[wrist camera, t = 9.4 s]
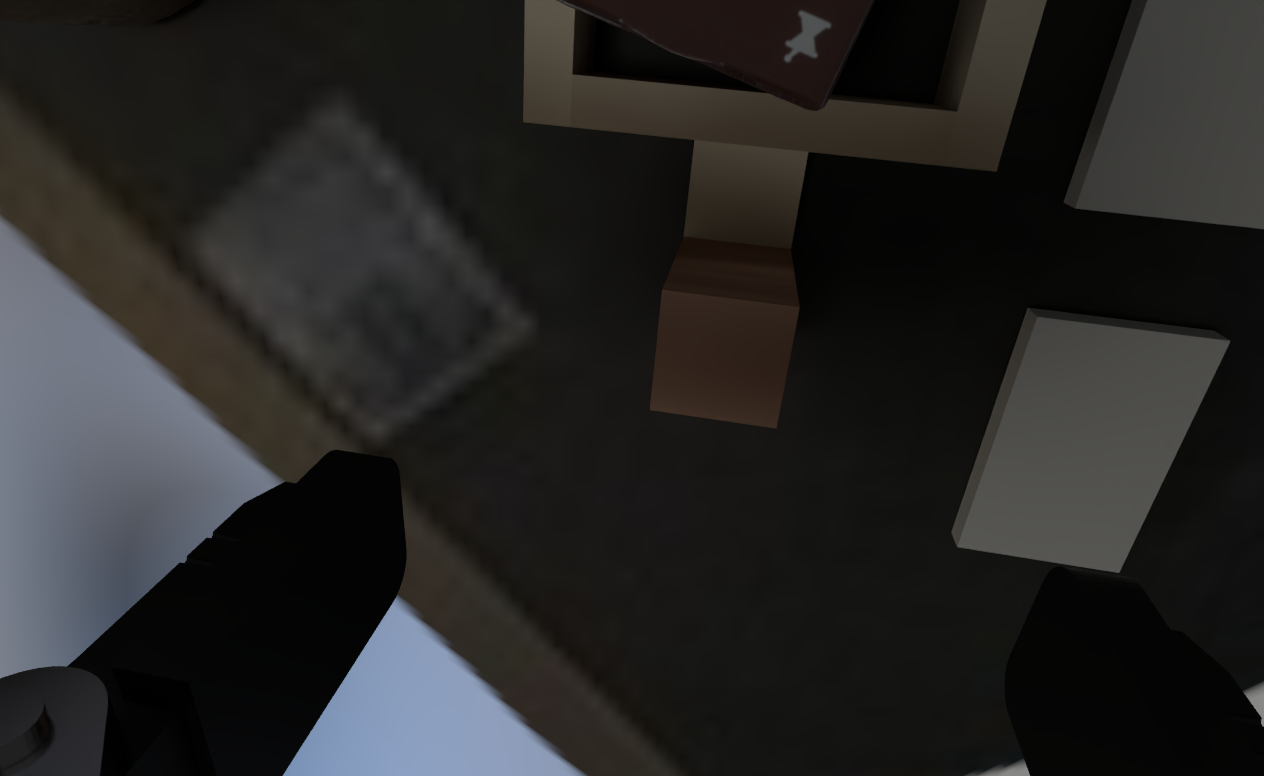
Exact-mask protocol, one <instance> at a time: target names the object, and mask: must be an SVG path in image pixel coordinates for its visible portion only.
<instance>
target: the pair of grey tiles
mask: <svg viewBox="0 0 1264 776" xmlns="http://www.w3.org/2000/svg"><path fill="white" fill-rule="evenodd" d="M1063 203H1065V204H1067V205H1069V206H1071V207H1073V208H1075V209H1084V210H1094V211H1103V212H1112V213H1121V214H1130V215H1140V216H1149V217H1158V218H1167V219H1176V220H1186V221H1195V222H1204V223H1213V224H1222V225H1232V226H1241V227H1250V228H1259V229H1264V0H1132V2H1131V5H1130V8H1129V11H1128V14H1127V17H1126V20H1125V23H1124V26H1123V29H1122V32H1121V35H1120V38H1119V40H1118V43H1117V46H1116V49H1115V52H1114V55H1113V58H1112V61H1111V64H1110V67H1109V70H1108V73H1107V76H1106V79H1105V82H1104V85H1103V88H1102V90H1101V93H1100V96H1099V99H1098V102H1097V105H1096V108H1095V111H1094V114H1093V117H1092V120H1091V123H1090V126H1089V129H1088V132H1087V135H1086V138H1085V140H1084V143H1083V146H1082V149H1081V152H1080V155H1079V158H1078V161H1077V164H1076V167H1075V170H1074V173H1073V176H1072V179H1071V182H1070V185H1069V188H1068V190H1067V193H1066V196H1065V199H1064V202H1063ZM1229 343H1230V340H1228V339H1226V338H1225V337H1223V336H1222V335H1220V334H1218V333H1217V332H1215V331H1213V330H1204V329H1196V328H1188V327H1180V326H1172V325H1164V324H1156V323H1148V322H1140V321H1132V320H1124V319H1116V318H1107V317H1099V316H1091V315H1083V314H1075V313H1067V312H1059V311H1051V310H1043V309H1035V308H1027V311H1026V314H1025V317H1024V320H1023V323H1022V326H1021V329H1020V332H1019V335H1018V338H1017V340H1016V343H1015V346H1014V349H1013V352H1012V355H1011V358H1010V361H1009V364H1008V367H1007V370H1006V373H1005V376H1004V379H1003V382H1002V385H1001V388H1000V390H999V393H998V396H997V399H996V402H995V405H994V408H993V411H992V414H991V417H990V420H989V423H988V426H987V429H986V432H985V435H984V438H983V440H982V443H981V446H980V449H979V452H978V455H977V458H976V461H975V464H974V467H973V470H972V473H971V476H970V479H969V482H968V485H967V488H966V490H965V493H964V496H963V499H962V502H961V505H960V508H959V511H958V514H957V517H956V520H955V523H954V526H953V529H952V532H951V533H952V535H953V538H954V540H955V543H956V545H957V547H961V548H967V549H973V550H980V551H986V552H992V553H998V554H1005V555H1011V556H1017V557H1024V558H1030V559H1036V560H1042V561H1049V562H1055V563H1061V564H1067V565H1074V566H1080V567H1086V568H1092V569H1099V570H1105V571H1111V572H1117V573H1119V572H1120V570H1121V568H1122V566H1123V563H1124V561H1125V559H1126V557H1127V555H1128V553H1129V551H1130V549H1131V547H1132V545H1133V543H1134V541H1135V539H1136V536H1137V534H1138V532H1139V530H1140V528H1141V526H1142V524H1143V522H1144V520H1145V518H1146V516H1147V514H1148V512H1149V509H1150V507H1151V505H1152V503H1153V501H1154V499H1155V497H1156V495H1157V493H1158V491H1159V489H1160V487H1161V484H1162V482H1163V480H1164V478H1165V476H1166V474H1167V472H1168V470H1169V468H1170V466H1171V464H1172V462H1173V460H1174V457H1175V455H1176V453H1177V451H1178V449H1179V447H1180V445H1181V443H1182V441H1183V439H1184V437H1185V435H1186V433H1187V430H1188V428H1189V426H1190V424H1191V422H1192V420H1193V418H1194V416H1195V414H1196V412H1197V410H1198V408H1199V405H1200V403H1201V401H1202V399H1203V397H1204V395H1205V393H1206V391H1207V389H1208V387H1209V385H1210V383H1211V381H1212V378H1213V376H1214V374H1215V372H1216V370H1217V368H1218V366H1219V364H1220V362H1221V360H1222V358H1223V356H1224V354H1225V351H1226V349H1227V347H1228V345H1229Z"/></svg>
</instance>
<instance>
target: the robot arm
mask: <svg viewBox="0 0 1264 776" xmlns="http://www.w3.org/2000/svg"><path fill="white" fill-rule="evenodd" d="M406 555H407V554H406V540H405V529H404V518H403V506H402V495H401V484H400V474H399V469H398V466H397V464H396V462H395V461H394V460H393V459H391V458H386V457H379V456H373V455H367V454H360V453H354V452H348V451H341V450H332V451H330V452H328V453H327V454H326V455H325V456H324V457H323V458H322V459H321V460H320V461H319V462H318V463H316V464H315V465H314V466H313V467H312V468H311V469H310V470H309V471H308V472H307V473H306V474H305V475H304V476H303V477H302V478H301V479H300V480H299V481H298V482H297V483H290V482H284V483H282V484H280V485H278V486H276V487H274V488H272V489H270V490H268V491H267V492H265V493H263V494H261V495H259V496H257V497H255V498H253V499H251V500H249V501H247V502H245V503H244V504H243V505H242V506H241V507H239V508H238V509H237V510H236V511H235V512H234V513H233V514H232V515H231V516H230V517H229V518H228V519H227V520H225V521H224V522H223V523H222V524H221V525H220V526H219V527H218V528H217V529H216V530H215V531H214V532H213V536H212V538H206V539H205V540H204V541H203V542H202V543H201V544H199V545H198V546H197V547H196V548H195V549H194V550H193V551H192V552H191V553H190V554H189V555H188V556H187V560H186V562H185V563H179V564H178V565H177V566H176V567H175V568H174V569H172V570H171V571H170V572H169V573H168V574H167V575H166V576H165V577H164V578H163V579H162V580H161V581H160V582H158V583H157V584H156V585H155V586H154V587H153V588H152V589H151V590H150V591H149V592H148V593H147V594H145V595H144V596H143V597H142V598H141V599H140V600H139V601H138V602H137V603H136V604H135V605H134V606H133V607H131V608H130V609H129V610H128V611H127V612H126V613H125V614H124V615H123V616H122V617H121V618H120V619H119V620H117V622H115V623H114V624H113V625H112V626H111V627H110V628H109V629H108V630H107V631H106V632H104V633H103V634H102V635H101V636H100V637H99V638H98V639H97V640H96V641H95V642H94V643H93V644H92V645H91V646H89V647H88V648H87V649H86V650H85V651H84V652H83V653H82V654H81V655H80V656H79V657H78V658H76V659H75V660H74V661H73V662H72V663H71V664H69V665H68V666H67V667H61V666H57V667H55V666H53V667H44V668H37V669H32V670H27V671H23V672H19V673H16V674H13V675H10V676H6V677H3V678H1V679H0V776H283V774H284V773H285V771H286V769H287V768H288V766H289V765H290V763H291V762H292V760H293V758H294V757H295V755H296V754H297V752H298V751H299V749H300V747H301V746H302V744H303V743H304V741H305V740H306V738H307V736H308V735H309V733H310V731H311V730H312V729H313V727H314V726H315V724H316V722H317V721H318V719H319V718H320V716H321V715H322V713H323V711H324V710H325V708H326V707H327V705H328V703H329V702H330V700H331V699H332V697H333V696H334V694H335V693H336V691H337V689H338V688H339V686H340V685H341V683H342V681H343V680H344V678H345V677H346V675H347V674H348V672H349V670H350V669H351V667H352V666H353V664H354V663H355V661H356V659H357V658H358V656H359V655H360V653H361V652H362V650H363V649H364V647H365V645H366V644H367V642H368V641H369V639H370V638H371V636H372V634H373V633H374V631H375V630H376V628H377V627H378V625H379V623H380V622H381V620H382V619H383V617H384V616H385V614H386V613H387V611H388V609H389V608H390V606H391V605H392V603H393V601H394V600H395V598H396V596H397V594H398V591H399V589H400V586H401V583H402V580H403V576H404V572H405V566H406ZM1005 700H1006V706H1007V711H1008V714H1009V717H1010V720H1011V723H1012V726H1013V729H1014V731H1015V734H1016V737H1017V740H1018V743H1019V745H1020V748H1021V751H1022V754H1023V757H1024V760H1025V762H1026V765H1027V768H1028V771H1029V774H1030V776H1264V727H1263V726H1262V724H1261V719H1262V718H1261V716H1260V715H1259V714H1258V712H1257V711H1256V709H1255V708H1254V707H1253V705H1252V704H1251V703H1250V701H1249V700H1248V698H1247V697H1246V695H1245V694H1244V693H1243V691H1242V690H1241V689H1240V687H1239V686H1238V684H1237V683H1236V682H1235V680H1234V679H1233V677H1232V676H1231V675H1230V673H1229V672H1228V671H1227V670H1225V669H1224V668H1223V667H1222V666H1221V665H1220V664H1218V663H1217V662H1216V661H1215V660H1214V659H1213V658H1212V657H1210V656H1209V655H1208V654H1207V653H1206V652H1205V651H1204V650H1202V649H1201V648H1200V647H1199V646H1198V645H1197V644H1195V643H1194V642H1193V641H1192V640H1191V639H1190V638H1189V637H1187V636H1186V635H1185V634H1184V633H1183V632H1180V631H1174V630H1170V629H1169V627H1168V626H1167V624H1166V623H1165V621H1164V620H1163V618H1162V617H1161V615H1160V614H1159V612H1158V611H1157V609H1156V608H1155V606H1154V605H1153V603H1152V602H1151V600H1150V599H1149V597H1148V596H1147V594H1146V593H1145V591H1144V590H1143V588H1142V587H1141V586H1140V585H1139V584H1138V583H1137V582H1136V581H1135V580H1133V579H1131V578H1129V577H1124V576H1118V575H1111V574H1105V573H1099V572H1092V571H1086V570H1080V569H1074V568H1067V567H1061V566H1059V567H1055V568H1053V569H1052V570H1051V571H1050V572H1049V573H1048V574H1047V575H1046V577H1045V579H1044V581H1043V583H1042V585H1041V587H1040V589H1039V592H1038V594H1037V596H1036V598H1035V601H1034V603H1033V605H1032V607H1031V610H1030V612H1029V614H1028V616H1027V619H1026V621H1025V623H1024V625H1023V628H1022V630H1021V632H1020V634H1019V637H1018V639H1017V641H1016V643H1015V646H1014V648H1013V650H1012V652H1011V655H1010V657H1009V660H1008V663H1007V667H1006V673H1005Z"/></svg>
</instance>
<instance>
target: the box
mask: <svg viewBox="0 0 1264 776" xmlns="http://www.w3.org/2000/svg"><path fill="white" fill-rule="evenodd" d="M556 1H559V2H561V3H563V4H565V5H566V6H568V7H571V8H573V9H576V10H578V11H581V12H584V13H586V14H589V15H591V16H593V17H596V18H598V19H600V20H601V21H604V22H606V23H608V24H611V25H614V26H616V27H618V28H620V29H622V30H625V31H627V32H630V33H632V34H634V35H637V36H639V37H641V38H644V39H646V40H648V41H650V42H652V43H654V44H656V45H659V46H660V47H662V48H664V49H666V50H668V51H670V52H672V53H674V54H678V55H681V56H684V57H686V58H689V59H691V60H693V61H695V62H698V63H701V64H704V65H706V66H708V67H710V68H713V69H715V70H717V71H719V72H721V73H723V74H726V75H728V76H730V77H733V78H735V79H738V80H740V81H742V82H744V83H746V84H748V85H751V86H753V87H755V88H757V89H760V90H762V91H765V92H767V93H769V94H771V95H773V96H775V97H777V98H780V99H782V100H785V101H787V102H790V103H792V104H795V105H797V106H799V107H802V108H804V109H806V110H811V111H819V110H821V109H822V108H824V107H825V105H826V103H827V102H828V100H829V98H830V96H831V94H832V92H833V90H834V87H835V85H836V83H837V81H838V79H839V77H840V75H841V72H842V70H843V68H844V66H845V64H846V62H847V60H848V57H849V55H850V52H851V50H852V48H853V46H854V44H855V42H856V40H857V38H858V36H859V34H860V32H861V30H862V28H863V26H864V23H865V21H866V19H867V17H868V15H869V13H870V11H871V9H872V7H873V4H874V2H875V0H556Z"/></svg>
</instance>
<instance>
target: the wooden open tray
mask: <svg viewBox="0 0 1264 776" xmlns="http://www.w3.org/2000/svg"><path fill="white" fill-rule="evenodd" d="M1046 1H1047V0H959V5H958V9H957V13H956V17H955V21H954V25H953V29H952V33H951V37H950V41H949V45H948V49H947V53H946V57H945V61H944V65H943V69H942V73H941V77H940V81H939V85H938V90H937V94H936V98H935V102H934V104H929V103H919V102H909V101H898V100H888V99H877V98H867V97H856V96H846V95H835V94H831V96H830V98H829V100H828V102H827V103H826V105H825V107H824V108H822V109H821V110H819V111H811V110H806V109H804V108H802V107H799V106H797V105H795V104H792V103H790V102H787V101H785V100H782V99H780V98H777V97H775V96H773V95H771V94H769V93H767V92H765V91H762V90H760V89H757V88H755V87H752V86H742V85H731V84H721V83H710V82H700V81H689V80H679V79H668V78H658V77H648V76H637V75H627V74H616V73H606V72H595V71H594V54H595V35H596V17H593V16H591V15H589V14H586V13H584V12H581V11H578V10H576V9H573V8H571V7H568V6H566V5H565V4H563V3H561V2H559V1H556V0H525V40H524V114H523V122H528V123H537V124H547V125H556V126H566V127H575V128H585V129H594V130H604V131H614V132H623V133H633V134H642V135H652V136H661V137H671V138H680V139H690V140H695V141H694V150H693V159H692V168H691V176H690V185H689V194H688V203H687V212H686V221H685V229H684V237H683V239H682V242H681V244H680V247H679V249H678V252H677V254H676V257H675V259H674V262H673V264H672V267H671V269H670V272H669V274H668V277H667V279H666V282H665V284H664V287H663V289H662V297H661V307H660V316H659V326H658V336H657V345H656V355H655V365H654V374H653V384H652V394H651V403H650V410H654V411H661V412H668V413H674V414H681V415H688V416H695V417H702V418H709V419H715V420H722V421H729V422H736V423H743V424H750V425H756V426H763V427H770V428H777V422H778V417H779V412H780V407H781V402H782V396H783V391H784V386H785V381H786V376H787V371H788V365H789V360H790V355H791V350H792V345H793V340H794V334H795V329H796V324H797V319H798V314H799V308H800V306H799V299H798V293H797V286H796V280H795V273H794V266H793V260H792V253H791V246H792V240H793V235H794V229H795V224H796V218H797V213H798V207H799V201H800V196H801V190H802V185H803V179H804V174H805V168H806V163H807V157H808V152H814V153H824V154H833V155H843V156H852V157H862V158H871V159H881V160H891V161H900V162H910V163H919V164H929V165H938V166H948V167H957V168H967V169H976V170H986V171H997V168H998V164H999V161H1000V157H1001V154H1002V151H1003V147H1004V144H1005V140H1006V137H1007V134H1008V130H1009V127H1010V123H1011V120H1012V117H1013V113H1014V110H1015V106H1016V103H1017V100H1018V96H1019V93H1020V89H1021V86H1022V83H1023V79H1024V76H1025V72H1026V69H1027V66H1028V62H1029V59H1030V55H1031V52H1032V49H1033V45H1034V42H1035V38H1036V35H1037V32H1038V28H1039V25H1040V21H1041V18H1042V15H1043V11H1044V8H1045V4H1046Z"/></svg>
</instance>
